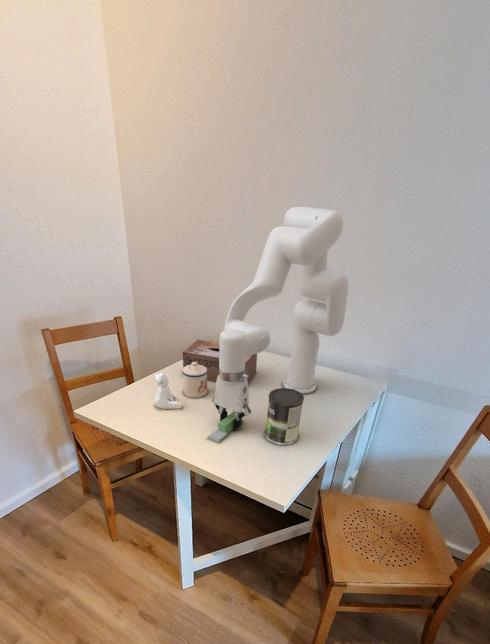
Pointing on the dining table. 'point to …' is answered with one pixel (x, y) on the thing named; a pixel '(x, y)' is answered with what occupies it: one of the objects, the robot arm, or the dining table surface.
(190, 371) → the teacup with lid
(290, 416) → the coffee can
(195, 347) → the tissue box cover
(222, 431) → the green bar grey end
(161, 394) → the sitting furry creature
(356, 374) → the dining table surface
